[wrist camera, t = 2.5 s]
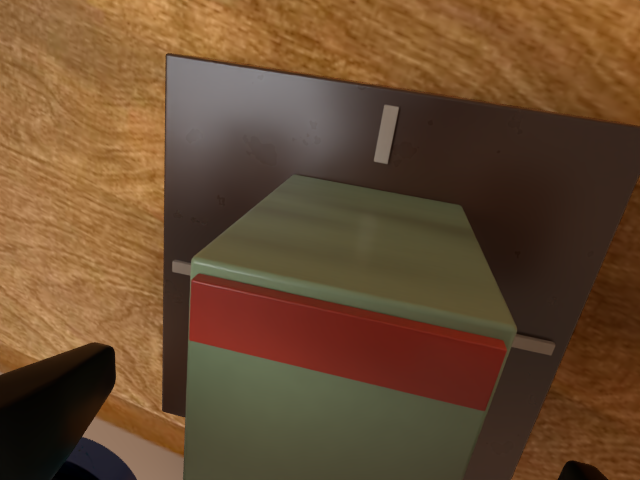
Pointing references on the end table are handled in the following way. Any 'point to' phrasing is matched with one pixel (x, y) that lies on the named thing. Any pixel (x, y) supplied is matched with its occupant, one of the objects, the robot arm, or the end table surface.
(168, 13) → the end table surface
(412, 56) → the end table surface
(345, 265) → the box
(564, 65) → the end table surface
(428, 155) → the plate
